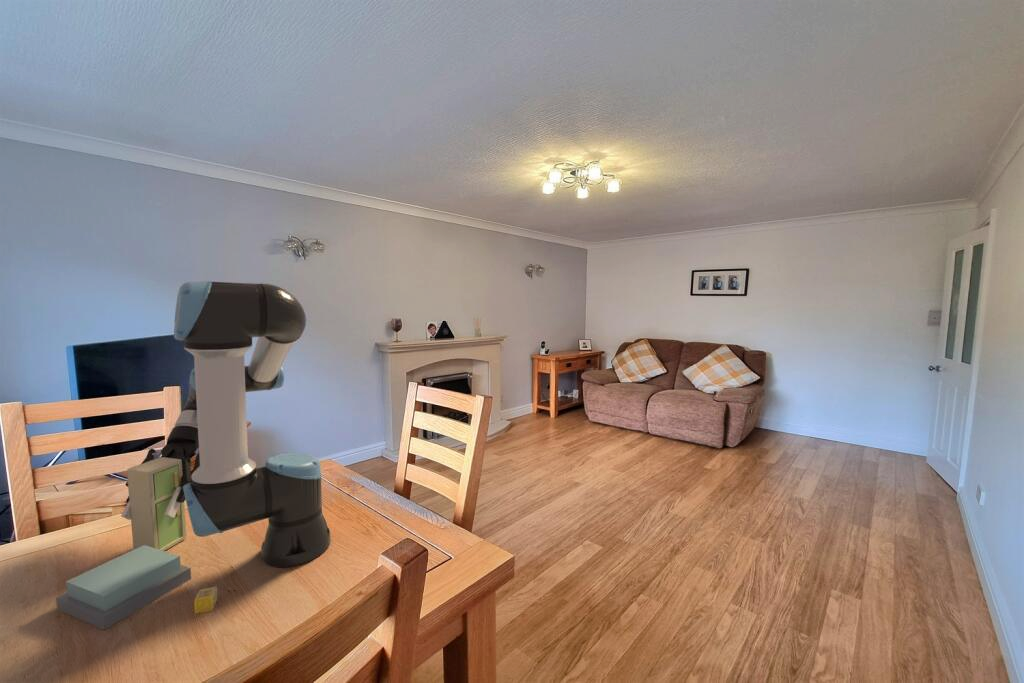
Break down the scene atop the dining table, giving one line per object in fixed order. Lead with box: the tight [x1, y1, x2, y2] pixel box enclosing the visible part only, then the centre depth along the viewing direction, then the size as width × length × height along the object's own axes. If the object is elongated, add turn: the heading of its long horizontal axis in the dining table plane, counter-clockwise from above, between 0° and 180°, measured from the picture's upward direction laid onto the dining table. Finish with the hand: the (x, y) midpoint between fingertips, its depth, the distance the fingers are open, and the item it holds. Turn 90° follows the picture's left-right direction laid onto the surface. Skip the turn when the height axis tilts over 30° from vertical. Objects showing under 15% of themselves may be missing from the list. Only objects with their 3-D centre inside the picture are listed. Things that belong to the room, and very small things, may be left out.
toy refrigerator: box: [126, 456, 188, 552], centre depth 100 cm, size 8×7×21 cm
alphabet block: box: [193, 586, 218, 614], centre depth 81 cm, size 3×3×3 cm
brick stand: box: [55, 545, 192, 630], centre depth 84 cm, size 15×15×6 cm
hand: (148, 516), depth 97 cm, fingers closed on toy refrigerator, 9 cm apart
